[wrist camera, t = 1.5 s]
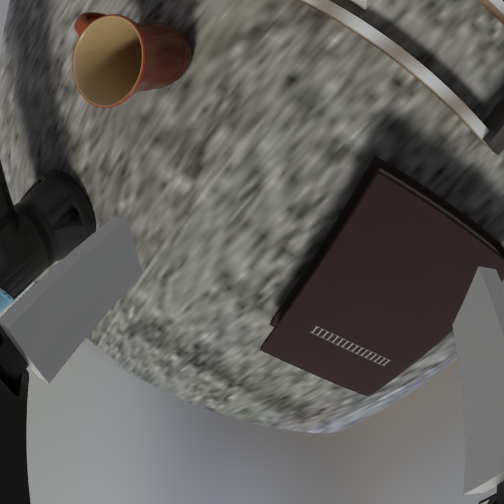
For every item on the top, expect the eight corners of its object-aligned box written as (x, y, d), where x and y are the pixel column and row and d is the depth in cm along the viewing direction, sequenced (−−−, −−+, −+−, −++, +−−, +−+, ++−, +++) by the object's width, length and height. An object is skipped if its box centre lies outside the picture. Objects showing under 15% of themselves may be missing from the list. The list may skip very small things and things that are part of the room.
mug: (218, 54, 27) (163, 55, 19) (166, 106, 32) (106, 127, 24) (154, -10, 24) (90, -20, 16) (110, 43, 29) (47, 51, 21)
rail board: (269, -14, 22) (257, -24, 19) (335, -98, 13) (331, -115, 10) (483, 144, 24) (498, 155, 20) (545, 61, 15) (564, 64, 12)
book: (377, 369, 46) (374, 399, 41) (271, 320, 46) (260, 349, 42) (502, 243, 28) (518, 273, 24) (374, 154, 29) (377, 173, 24)
